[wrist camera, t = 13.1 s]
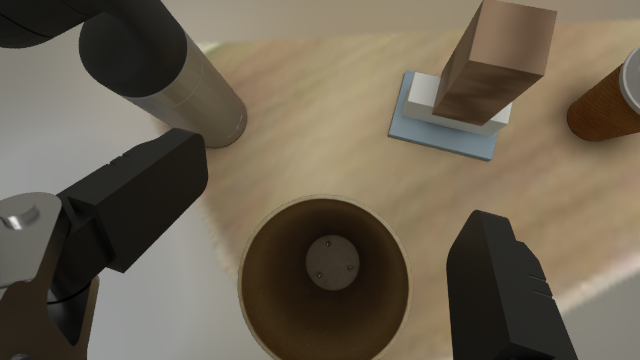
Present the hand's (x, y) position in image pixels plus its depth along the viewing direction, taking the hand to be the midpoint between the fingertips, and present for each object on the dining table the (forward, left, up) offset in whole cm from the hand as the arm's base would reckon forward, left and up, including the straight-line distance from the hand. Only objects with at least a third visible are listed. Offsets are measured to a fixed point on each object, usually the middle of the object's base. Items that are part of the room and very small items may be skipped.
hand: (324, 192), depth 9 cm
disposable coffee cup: (+21, +30, -34) cm, 50 cm away
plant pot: (+1, -5, -34) cm, 34 cm away
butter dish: (+4, +21, -34) cm, 40 cm away
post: (+5, +21, -28) cm, 35 cm away
